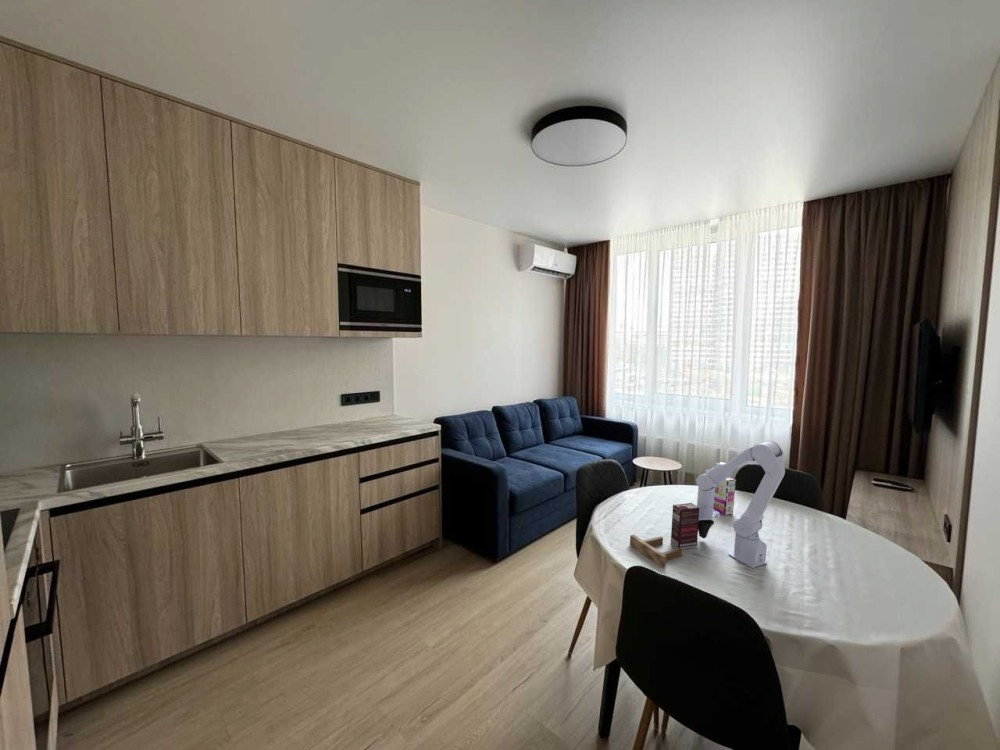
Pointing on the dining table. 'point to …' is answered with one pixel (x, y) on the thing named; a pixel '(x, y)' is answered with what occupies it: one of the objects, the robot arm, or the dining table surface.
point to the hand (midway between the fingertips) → (702, 536)
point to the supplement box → (685, 526)
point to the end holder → (654, 550)
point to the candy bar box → (724, 496)
